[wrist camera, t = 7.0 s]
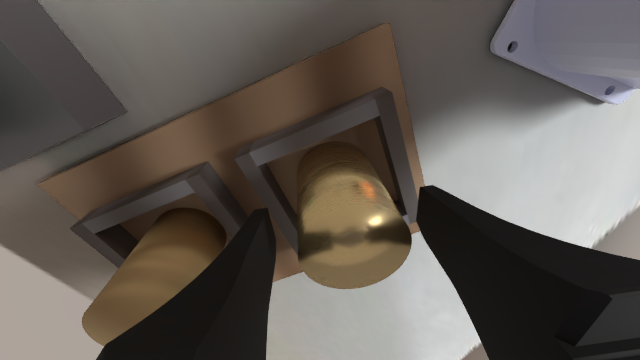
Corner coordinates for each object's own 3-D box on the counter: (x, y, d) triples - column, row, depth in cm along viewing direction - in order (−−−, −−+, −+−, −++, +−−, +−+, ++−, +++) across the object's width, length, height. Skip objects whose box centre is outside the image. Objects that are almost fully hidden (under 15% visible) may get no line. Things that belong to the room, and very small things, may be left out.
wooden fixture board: (382, 23, 12) (472, 9, 6) (427, 217, 18) (491, 306, 12) (52, 175, 14) (-127, 276, 8) (192, 299, 21) (149, 408, 15)
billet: (365, 132, 13) (408, 191, 8) (374, 196, 16) (413, 275, 11) (287, 152, 14) (282, 222, 8) (307, 213, 16) (313, 298, 11)
